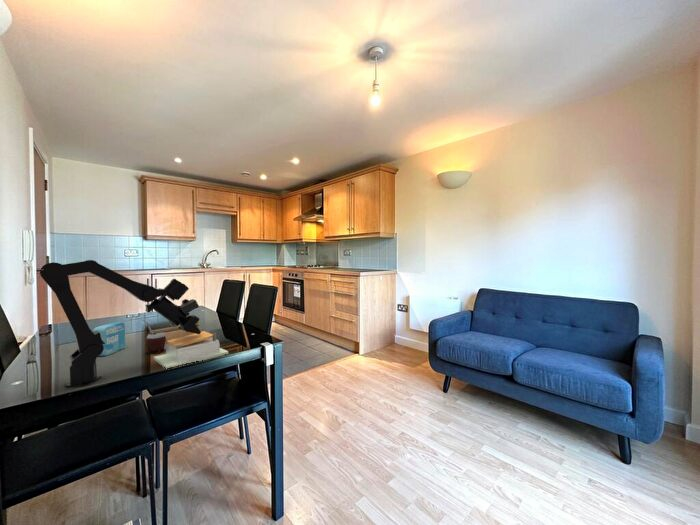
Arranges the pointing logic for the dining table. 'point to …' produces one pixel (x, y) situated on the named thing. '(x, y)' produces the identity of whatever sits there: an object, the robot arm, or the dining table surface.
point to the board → (169, 362)
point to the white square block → (193, 349)
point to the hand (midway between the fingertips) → (200, 333)
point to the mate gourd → (155, 341)
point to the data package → (112, 337)
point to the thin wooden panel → (190, 339)
